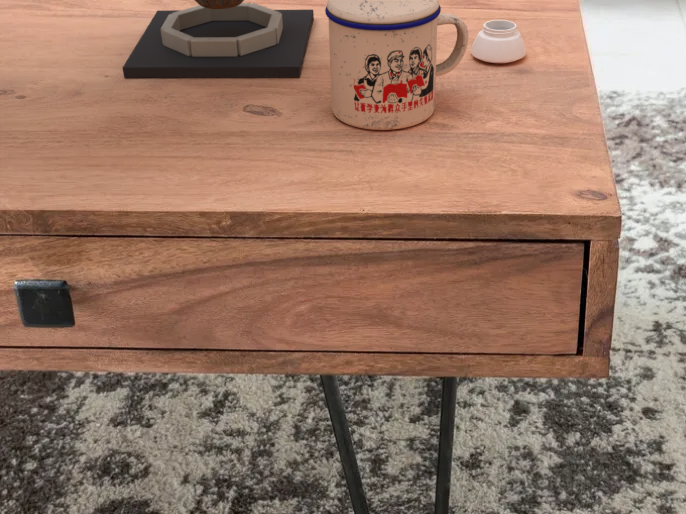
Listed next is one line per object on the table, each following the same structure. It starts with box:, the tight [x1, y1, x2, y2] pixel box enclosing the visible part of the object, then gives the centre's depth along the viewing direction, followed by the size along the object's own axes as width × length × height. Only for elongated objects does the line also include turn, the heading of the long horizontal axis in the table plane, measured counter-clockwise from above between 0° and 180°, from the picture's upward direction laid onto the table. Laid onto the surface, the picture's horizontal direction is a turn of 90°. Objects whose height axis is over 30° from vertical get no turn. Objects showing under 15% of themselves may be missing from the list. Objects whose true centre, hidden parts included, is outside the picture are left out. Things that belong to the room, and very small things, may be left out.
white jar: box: [470, 19, 527, 64], centre depth 96 cm, size 5×3×5 cm
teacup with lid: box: [324, 0, 469, 131], centre depth 85 cm, size 12×9×12 cm
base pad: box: [122, 2, 315, 79], centre depth 100 cm, size 16×16×2 cm
